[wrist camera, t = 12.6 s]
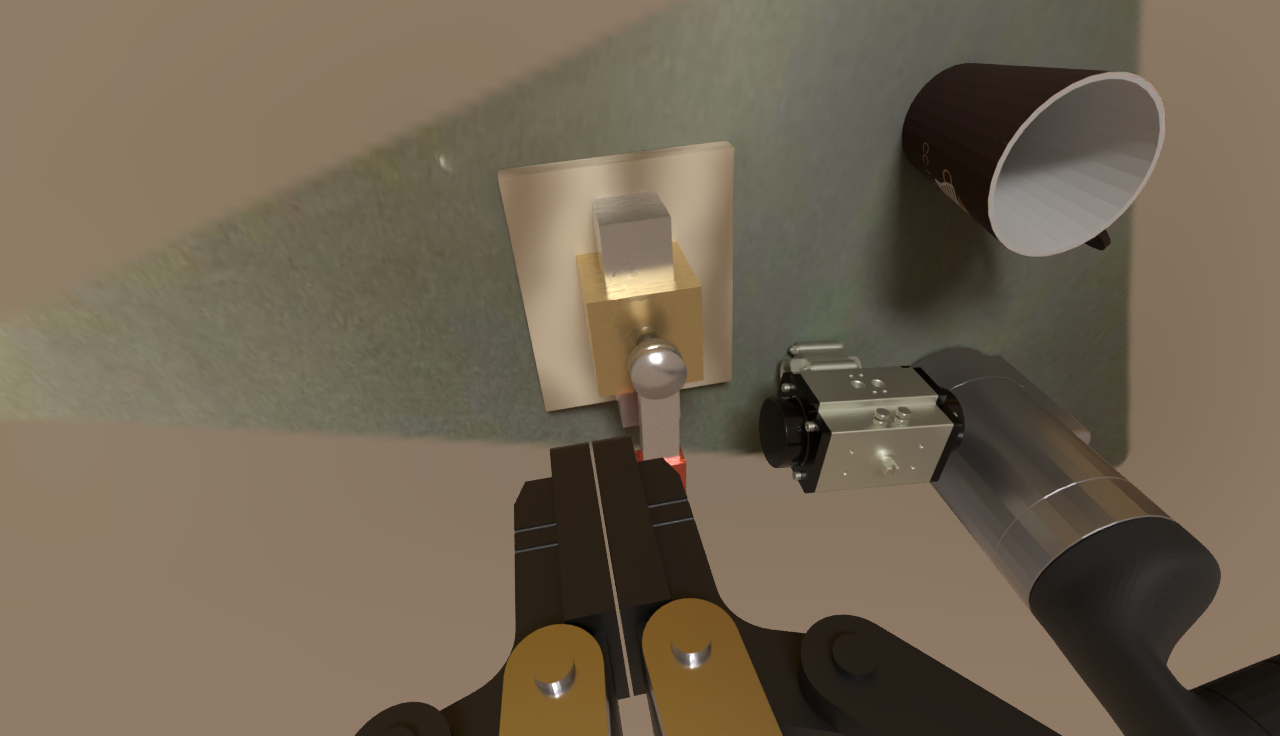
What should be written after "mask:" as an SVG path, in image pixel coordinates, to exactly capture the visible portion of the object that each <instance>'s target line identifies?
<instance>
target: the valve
mask: <svg viewBox="0 0 1280 736" xmlns="http://www.w3.org/2000/svg"><path fill="white" fill-rule="evenodd" d="M591 204H592V212H593V220H594V228H595V236H596V244H597V252H595V253H588V254H581V255H576V260H577V267H578V274H579V281H580V288H581V295H582V302H583V309H584V316H585V323H586V329H587V336H588V343H589V348H590V353H591V358H592V363H593V368H594V372H595V377H596V382H597V387H598V392H599V397H606V396H612V395H615V396H616V400H617V405H618V409H619V413H620V417H621V421H622V426H623V428H626V427H632V426H637V425H639V409H638V393H637V391H636V390H635V389H634V387H633V383H632V380H631V376H630V373H629V369H628V359H629V356H630V354H631V352H632V351H633V349H634V348H635V347H636V346H637V345H639V344H640V343H642V342H644V341H646V340H649V339H655V338H661V339H666V340H669V341H671V342H672V343H674V344H675V345H676V346H677V347H678V349H679V351H680V353H681V356H682V358H683V360H684V363H685V365H686V368H687V379H686V382H685V383H690V382H696V381H702V380H704V371H703V324H702V286H701V284H700V282H699V281H698V279H697V277H696V275H695V274H694V272H693V270H692V268H691V266H690V265H689V263H688V261H687V259H686V257H685V256H684V254H683V252H682V250H681V249H680V247H679V245H678V243H677V241H672V230H671V216H670V214H669V212H668V211H667V209H666V207H665V206H664V204H663V202H662V201H661V199H660V197H659V195H658V194H657V193H650V194H649V193H648V192H640V193H633V194H625V195H618V196H610V197H603V198H595V201H591ZM679 418H681V414H680V393H679Z"/></svg>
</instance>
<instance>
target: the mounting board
mask: <svg viewBox="0 0 1280 736" xmlns="http://www.w3.org/2000/svg"><path fill="white" fill-rule="evenodd" d="M498 181H499V186H500V191H501V195H502V200H503V205H504V210H505V215H506V220H507V224H508V229H509V234H510V239H511V244H512V249H513V254H514V258H515V263H516V268H517V273H518V278H519V283H520V288H521V292H522V297H523V302H524V307H525V312H526V317H527V321H528V326H529V331H530V336H531V341H532V346H533V351H534V355H535V360H536V365H537V370H538V375H539V380H540V384H541V389H542V394H543V399H544V404H545V409H546V412H547V411H553V410H559V409H565V408H571V407H577V406H583V405H589V404H595V403H601V402H607V401H613V400H616V396H615V395H612V396H606V397H599V392H598V387H597V382H596V377H595V372H594V368H593V363H592V358H591V353H590V348H589V343H588V336H587V329H586V323H585V316H584V309H583V302H582V295H581V288H580V281H579V274H578V267H577V260H576V255H581V254H588V253H595V252H597V244H596V236H595V228H594V220H593V212H592V204H591V201H595V198H603V197H610V196H618V195H625V194H633V193H640V192H648V193H649V194H650V193H657V194H658V195H659V197H660V199H661V201H662V202H663V204H664V206H665V207H666V209H667V211H668V212H669V214H670V216H671V230H672V241H677V243H678V245H679V247H680V249H681V250H682V252H683V254H684V256H685V257H686V259H687V261H688V263H689V265H690V266H691V268H692V270H693V272H694V274H695V275H696V277H697V279H698V281H699V282H700V284H701V286H702V324H703V371H704V380H702V381H696V382H690V383H685V384H684V385H683V387H682V388H681V389H685V388H691V387H697V386H703V385H709V384H715V383H721V382H727V381H732V312H733V219H734V147H733V146H732V145H731V144H730V143H729V142H727V141H720V142H712V143H704V144H697V145H689V146H681V147H673V148H665V149H657V150H650V151H642V152H634V153H626V154H618V155H610V156H603V157H595V158H587V159H579V160H571V161H563V162H556V163H548V164H540V165H532V166H524V167H516V168H509V169H501V170H498Z"/></svg>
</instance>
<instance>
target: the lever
mask: <svg viewBox="0 0 1280 736" xmlns="http://www.w3.org/2000/svg"><path fill="white" fill-rule="evenodd" d="M628 369H629V373H630V376H631V380H632V383H633V387H634V389H635V390H636V391H637V393H638V409H639V427H640V444H641V450H637V451H635V456H636V460H637V462H639V461H644V460H650V459H656V458H661V457H663V458H664V459H665V460H666V461H667V462H668V463H669V464H670V465H671V466H672V467H673V468H674V469H675V470H676V471H677V472H678V473H679V474H680V477H681V480H682V483H683V486H684V489H685V492H686V461H685V459H684V456H683V453H682V450H681V447H680V444H679V390H680V389H681V388H682V387H683V385H684V384H685V382H686V379H687V368H686V365H685V363H684V360H683V358H682V356H681V353H680V351H679V349H678V347H677V346H676V345H675V344H674V343H672V342H671V341H669V340H666V339H661V338H655V339H649V340H646V341H644V342H642V343H640V344H639V345H637V346H636V347H635V348H634V349H633V351H632V352H631V354H630V356H629V359H628Z"/></svg>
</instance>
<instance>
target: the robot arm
mask: <svg viewBox="0 0 1280 736" xmlns="http://www.w3.org/2000/svg"><path fill="white" fill-rule="evenodd" d="M914 367H921V368H922V369H923V370H924V371H925V372H926V373H927V374H928V375H929V377H930V378H931V379H932V380H933V381H934V382H935V383H936V384H937V385H938V386H939V387H943V388H946V389H948V390H949V391H951V392H952V393H953V394H954V395H955V396H956V398H957V399H958V401H959V403H960V405H961V407H962V410H963V413H964V419H965V432H964V437H963V440H962V443H961V445H960V446H959V448H958V449H957V450H956V451H954V452H953V453H951V454H950V455H949V458H948V460H947V462H946V464H945V467H944V469H943V471H942V474H941V476H940V478H939V480H938V482H930V483H931V484H932V485H933V487H934V488H935V489H936V491H937V492H938V493H939V494H940V496H941V497H942V498H943V500H944V501H945V502H946V503H947V505H948V506H949V507H950V509H951V510H952V511H953V512H954V514H955V515H956V516H957V517H958V519H959V520H960V521H961V523H962V524H963V525H964V526H965V528H966V529H967V530H968V532H969V533H970V534H971V535H972V537H973V538H974V539H975V540H976V542H977V543H978V544H979V546H980V547H981V548H982V550H983V551H984V552H985V553H986V555H987V556H988V557H989V558H990V560H991V561H992V562H993V564H994V565H995V566H996V567H997V569H998V570H999V571H1000V572H1001V574H1002V575H1003V576H1004V577H1005V579H1006V580H1007V581H1008V583H1009V584H1010V585H1011V586H1012V588H1013V589H1014V590H1015V592H1016V593H1017V594H1018V595H1019V597H1020V598H1021V599H1022V600H1023V602H1024V603H1025V604H1026V606H1027V607H1028V608H1029V609H1030V610H1031V612H1032V614H1033V615H1034V616H1035V618H1036V619H1037V620H1038V621H1039V622H1040V624H1041V625H1042V626H1043V627H1044V629H1045V630H1046V631H1047V633H1048V634H1049V635H1050V637H1051V638H1052V639H1053V640H1054V642H1055V643H1056V645H1057V646H1058V647H1059V649H1060V650H1061V651H1062V653H1063V654H1064V655H1065V657H1066V658H1067V659H1068V661H1069V662H1070V663H1071V665H1072V666H1073V667H1074V669H1075V670H1076V671H1077V673H1078V674H1079V675H1080V676H1081V678H1082V679H1083V681H1084V682H1085V683H1086V684H1087V686H1088V687H1089V688H1090V690H1091V691H1092V692H1093V694H1094V695H1095V696H1096V697H1097V699H1098V700H1099V701H1100V703H1101V704H1102V705H1103V707H1104V708H1105V709H1106V710H1107V712H1108V713H1109V715H1110V716H1111V717H1112V719H1113V720H1114V722H1115V723H1116V724H1117V726H1118V727H1119V728H1120V730H1121V731H1122V733H1123V734H1124V735H1125V736H1280V654H1279V655H1276V656H1273V657H1271V658H1268V659H1266V660H1263V661H1260V662H1257V663H1255V664H1253V665H1250V666H1248V667H1245V668H1243V669H1240V670H1238V671H1235V672H1233V673H1230V674H1228V675H1226V676H1223V677H1221V678H1218V679H1216V680H1213V681H1211V682H1208V683H1206V684H1204V685H1201V686H1198V687H1197V688H1194V689H1191V690H1187V689H1185V688H1184V687H1183V686H1182V685H1181V684H1180V683H1179V682H1178V681H1177V680H1176V678H1175V677H1174V676H1173V674H1172V673H1171V671H1170V670H1169V669H1168V667H1167V665H1166V664H1167V661H1168V658H1169V656H1170V654H1171V652H1172V650H1173V648H1174V646H1175V645H1176V643H1177V642H1178V641H1179V639H1180V638H1181V637H1182V636H1183V635H1184V634H1185V633H1186V631H1187V630H1188V629H1189V628H1190V627H1191V626H1192V625H1193V624H1194V623H1195V622H1196V620H1197V619H1198V618H1199V617H1200V616H1201V615H1202V614H1203V612H1205V610H1206V609H1207V608H1208V606H1209V605H1210V603H1211V602H1212V600H1213V599H1214V596H1215V594H1216V592H1217V590H1218V587H1219V584H1220V579H1221V573H1220V568H1219V565H1218V563H1217V561H1216V559H1215V558H1214V557H1213V555H1212V554H1211V553H1210V552H1209V550H1207V548H1206V547H1205V546H1203V545H1202V544H1201V543H1200V542H1199V541H1198V540H1197V539H1196V538H1195V537H1193V536H1192V535H1191V534H1190V533H1189V532H1188V531H1187V530H1185V529H1184V528H1183V527H1182V526H1181V525H1180V524H1178V523H1177V522H1176V521H1174V520H1173V519H1172V518H1171V517H1170V516H1169V515H1167V514H1166V513H1165V512H1164V511H1163V510H1162V509H1161V508H1159V507H1158V506H1157V505H1156V504H1155V503H1154V502H1153V501H1151V500H1150V499H1149V498H1148V497H1147V496H1146V495H1145V494H1143V493H1142V492H1141V491H1140V490H1139V489H1138V488H1137V487H1135V486H1134V485H1133V484H1132V483H1130V482H1129V481H1128V480H1127V479H1126V478H1125V477H1124V476H1122V475H1121V474H1120V473H1119V472H1118V471H1117V470H1116V469H1114V468H1113V467H1112V466H1111V465H1110V464H1109V463H1108V462H1106V461H1105V460H1104V459H1103V458H1102V457H1101V456H1100V455H1098V454H1097V453H1096V452H1095V451H1094V450H1093V449H1092V448H1090V447H1089V446H1088V444H1089V442H1090V438H1091V436H1090V433H1089V431H1088V430H1087V429H1086V428H1085V427H1084V426H1082V425H1081V424H1080V423H1079V422H1078V421H1076V420H1075V419H1074V418H1073V417H1072V416H1071V415H1069V414H1068V413H1067V412H1066V411H1065V410H1063V409H1062V408H1061V407H1060V406H1059V405H1058V404H1056V403H1055V402H1054V401H1053V400H1052V399H1050V398H1049V397H1048V396H1047V395H1046V394H1045V393H1043V392H1042V391H1041V390H1040V389H1039V388H1037V387H1036V386H1035V385H1034V384H1033V383H1032V382H1030V381H1029V380H1028V379H1027V378H1026V377H1024V376H1023V375H1022V374H1021V373H1020V372H1019V371H1017V370H1016V369H1015V368H1014V367H1013V366H1011V365H1010V364H1009V363H1008V362H1007V361H1006V360H1004V359H1003V358H1002V357H1001V356H995V357H988V356H986V355H984V354H982V353H981V352H979V351H977V350H974V349H970V348H952V349H946V350H943V351H940V352H937V353H934V354H931V355H930V356H928V357H926V358H924V359H922V360H920V361H919V362H917V363H916V364H914V365H913V366H912V367H910V368H914ZM592 445H593V451H594V458H595V463H596V470H597V477H598V483H599V489H600V496H601V502H602V508H603V514H604V520H605V526H606V532H607V538H608V544H609V550H610V556H611V562H612V568H613V574H614V580H615V586H616V592H617V598H618V603H619V610H620V616H621V621H622V627H623V633H624V639H625V645H626V651H627V657H628V663H629V669H630V675H631V681H632V687H633V693H634V696H635V695H641V694H645V693H646V694H647V699H648V704H649V710H650V716H651V721H652V726H653V733H654V736H1062V735H1060V734H1058V733H1057V732H1055V731H1053V730H1052V729H1050V728H1048V727H1047V726H1045V725H1043V724H1042V723H1040V722H1038V721H1037V720H1035V719H1033V718H1032V717H1030V716H1028V715H1027V714H1025V713H1023V712H1022V711H1020V710H1018V709H1017V708H1015V707H1013V706H1011V705H1010V704H1008V703H1007V702H1005V701H1003V700H1001V699H1000V698H998V697H997V696H995V695H993V694H992V693H990V692H988V691H987V690H985V689H983V688H982V687H980V686H978V685H977V684H975V683H973V682H972V681H970V680H968V679H967V678H965V677H963V676H962V675H960V674H958V673H957V672H955V671H953V670H952V669H950V668H948V667H947V666H945V665H943V664H942V663H940V662H938V661H937V660H935V659H933V658H932V657H930V656H928V655H927V654H925V653H923V652H922V651H920V650H918V649H917V648H915V647H913V646H911V645H910V644H908V643H907V642H905V641H903V640H902V639H900V638H898V637H896V636H895V635H893V634H892V633H890V632H888V631H887V630H885V629H883V628H881V627H880V626H878V625H877V624H875V623H873V622H871V621H869V620H866V619H864V618H861V617H857V616H852V615H833V616H829V617H826V618H824V619H822V620H819V621H818V622H816V623H815V624H814V625H812V626H811V628H810V629H809V630H808V631H807V633H797V632H788V631H779V630H771V629H765V628H761V627H758V626H754V625H752V624H750V623H748V622H746V621H744V620H742V619H741V618H739V617H737V616H736V615H735V614H734V613H733V612H732V611H730V610H729V608H728V607H727V606H726V605H725V604H724V602H723V601H722V599H721V598H720V595H719V593H718V591H717V588H716V585H715V582H714V579H713V576H712V573H711V569H710V566H709V563H708V560H707V557H706V554H705V551H704V548H703V545H702V542H701V539H700V535H699V532H698V529H697V526H696V523H695V521H694V518H693V514H692V511H691V508H690V504H689V502H688V500H687V495H686V492H685V489H684V486H683V483H682V480H681V477H680V474H679V473H678V472H677V471H676V470H675V469H674V468H673V467H672V466H671V465H670V464H669V463H668V462H667V461H666V460H665V459H664V458H663V457H661V458H656V459H650V460H644V461H639V462H637V460H636V456H635V452H634V448H633V444H632V440H631V436H630V435H625V436H619V437H613V438H608V439H602V440H596V441H592ZM550 457H551V470H552V477H550V478H544V479H539V480H533V481H527V482H525V484H524V486H523V488H522V490H521V492H520V494H519V496H518V498H517V500H516V502H515V504H514V530H515V536H514V537H515V612H516V633H515V641H514V645H513V648H512V651H511V653H510V656H509V657H508V659H507V661H506V663H505V664H504V666H503V667H502V669H501V670H500V671H499V672H498V673H497V675H495V676H494V678H493V679H492V680H490V681H489V682H488V683H487V684H485V685H484V686H483V687H482V688H480V689H478V690H477V691H475V692H473V693H472V694H470V695H468V696H466V697H464V698H462V699H461V700H459V701H457V702H455V703H453V704H452V705H450V706H448V707H446V708H444V709H443V710H441V711H439V710H437V709H436V708H435V707H433V706H431V705H428V704H425V703H421V702H407V703H401V704H398V705H395V706H392V707H390V708H388V709H386V710H384V711H382V712H380V713H379V714H377V715H376V716H374V717H373V718H372V719H371V720H369V721H368V722H367V723H366V724H365V725H364V726H363V727H362V728H361V729H360V730H359V731H358V732H357V734H356V735H355V736H623V733H622V726H621V719H620V713H619V706H618V700H619V699H624V698H628V697H630V695H629V688H628V683H627V676H626V670H625V664H624V658H623V651H622V645H621V640H620V633H619V627H618V621H617V615H616V609H615V602H614V596H613V590H612V584H611V578H610V572H609V565H608V559H607V553H606V547H605V541H604V534H603V529H602V523H601V516H600V510H599V504H598V498H597V491H596V486H595V480H594V473H593V467H592V461H591V455H590V448H589V442H585V443H580V444H574V445H568V446H562V447H557V448H551V449H550Z"/></svg>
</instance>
